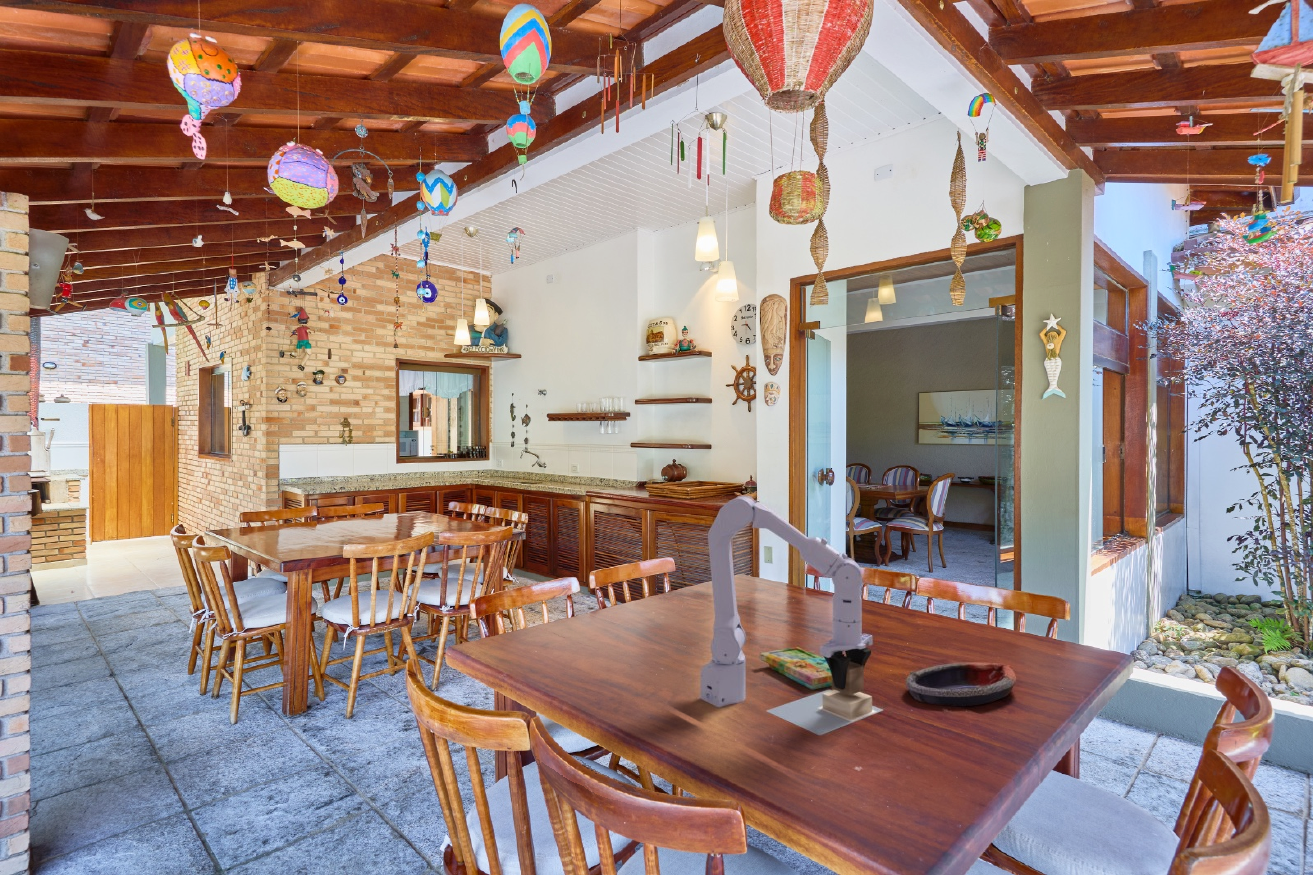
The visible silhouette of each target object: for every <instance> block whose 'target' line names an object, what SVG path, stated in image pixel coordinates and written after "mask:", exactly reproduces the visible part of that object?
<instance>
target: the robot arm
mask: <svg viewBox="0 0 1313 875" xmlns="http://www.w3.org/2000/svg"><path fill="white" fill-rule="evenodd" d="M715 517H716V518H715V519H714V521H713V523H712V525H711V527H710V529H709V530H708V533H707V541H708V552H709V554H708V555H709V565H710V576H711V587H712V598H713V607H714V608H713V609H714V621H713V629H712V630H713V637H712V640H711V643H710V652H711V654H712V655H711V659H710V661H709V662H708V663H707V664H704V665H703V666H702V668H701V669H700V700H702V701H705V702H706V703H708V704H711V705H712V706H714V707H717V708H721V707H724V706H728V705H733V704H739V703H742V702H744V701H745V700H746V656H745V654H744V652H743V650H742V649H743V648H744V646H745V644H746V643H747V635H746V632H745V629H744V628H743V627H742V624H741V617H740V615H739V612H738V605H737V604H738V602H737V592H736V583H735V582H736V581H735V570H734V560H733V559H734V558H733V549H732V540H733V538H734V537H735V536H736V535H738V533H739V532H740V531H741V530H743V529H745V528H747V527H748V525H750V524H751V523H752V525H751V528H752V529H765V530H769V531H770V532H772V533H773V534H774V535H776V536H777V537H779V538H781V539H782V540H784V541H786V542H787V543H788V544H790V545H791V546H792V547H795V548H796V549H797V550H798V551H799V556H800V559H801V560H802V561H803V562H805V563H806V564H808V565H809V566H811V567H812V568H813V569H815V570H816V571H817V572H819V573H820V574H821V575H823V577H826V578H830V579H831V581H832V584H833V585H834V586H833V588H834V589H833V590H834V591H833V593H834V594H833V595H832V638H831V639H830V640H828V641H827V642H826V643H825V644H822V645H820V646H819V647H820V650H819V651H820V652H819V653H820V655H819V656H820V657H823V658H825V660H826V662H827V664H828V666H829V668H830V671H831V674H832V678H833V682H834V686H835V687H836V688H839V689H842V690H843V689H844V688H845V684H846V674H847V669H848V665H849V662H853V663H856V664H859V665H862V666H863V667H864V668H865V666H866V664H867V661H868V660H869V659H870V658H869V657H870V656H871V655H872V649H870V648H868V647H867V646H872V645H873V644H874V642H873V635H872V634H867V633H862V631H863V630H862V627H863V626H862V624H863V623H862V617H863V616H862V614H863V610H862V609H863V608H862V605H863V604H862V601H863V600H862V597H861V594H862V588H861V587H862V583H863V576H862V575H863V574H862V570H861V567H860V565H859V564H858V563H857V562H856V561H855V560H854V559H853V558H850V557H848V554H846V553H845V552H843V553H841V552H839V551H838V550H837V549H835V548H833V546H831V545H829V543H828V542H829V541H828V540H827V539H826V538H825V537H822V538H819V537H818V536H811V537H810V536H809V537H808V536H806V535H805V534H804V533H803V532H801V531H800V530H799V529H797V528H796V527H795V526H794V525H792V524H790V522H788V521H787V520H785V519H784V518H783V517H782V516H780V515H779V514H778V513H776V512H775V511H774V510H772V509H771V508H770V507H768V506H766V505H764V504H763V503H761V502H760V501H756V500H755V499H754V498H753V497H751V496H749V495H745V494H743V495H739V496H737V497H735V498H733V499H731V500H729V501H727V503H725V504H724V505H723V506H722V507H721V508H720V509H719V510H718V514H717V516H715ZM844 652H845V654H844Z"/></svg>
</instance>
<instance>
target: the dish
mask: <svg viewBox="0 0 1313 875" xmlns="http://www.w3.org/2000/svg"><path fill="white" fill-rule="evenodd" d="M1016 683H1017V676H1016V673H1015V671H1014V669H1013V668H1012V666H1011V665H1010V664H1007V663H997V662H954V663H953V662H951V663H946V664H939V665H934V666H931V667H927V668H926V667H925V668H923V669H919V670H912V671H910V672H909V674H908V676H907V678H906V680H905V685H906V688H907V689H908V692H909V694H910V695H911V697H912V698H913V699H915V700H916V701H919V702H921V703H926V704H931V705H938V706H954V707H960V708H961V707H972V706H980V705H983V704H984V705H985V704H988V703H992V702H995V701H997V700H1001V699H1003V698H1005V697H1007V696H1009V694H1010V693H1011V692H1012V690H1013V688H1014V686H1015V685H1016Z"/></svg>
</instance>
